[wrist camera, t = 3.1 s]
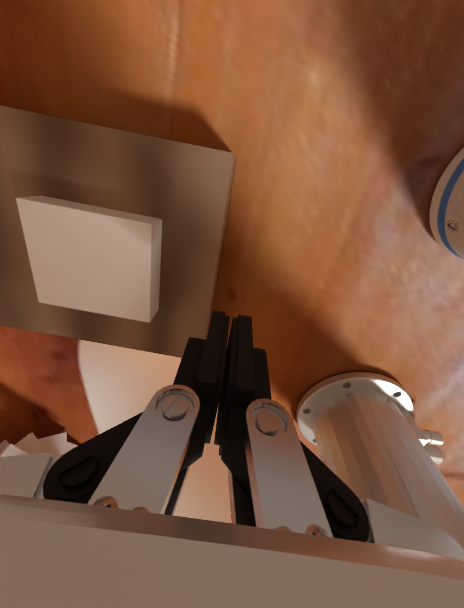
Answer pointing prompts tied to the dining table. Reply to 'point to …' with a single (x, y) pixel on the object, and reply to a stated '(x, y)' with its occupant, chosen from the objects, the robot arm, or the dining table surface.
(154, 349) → the board
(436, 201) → the supplement tub
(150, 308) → the tile
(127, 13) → the dining table surface
